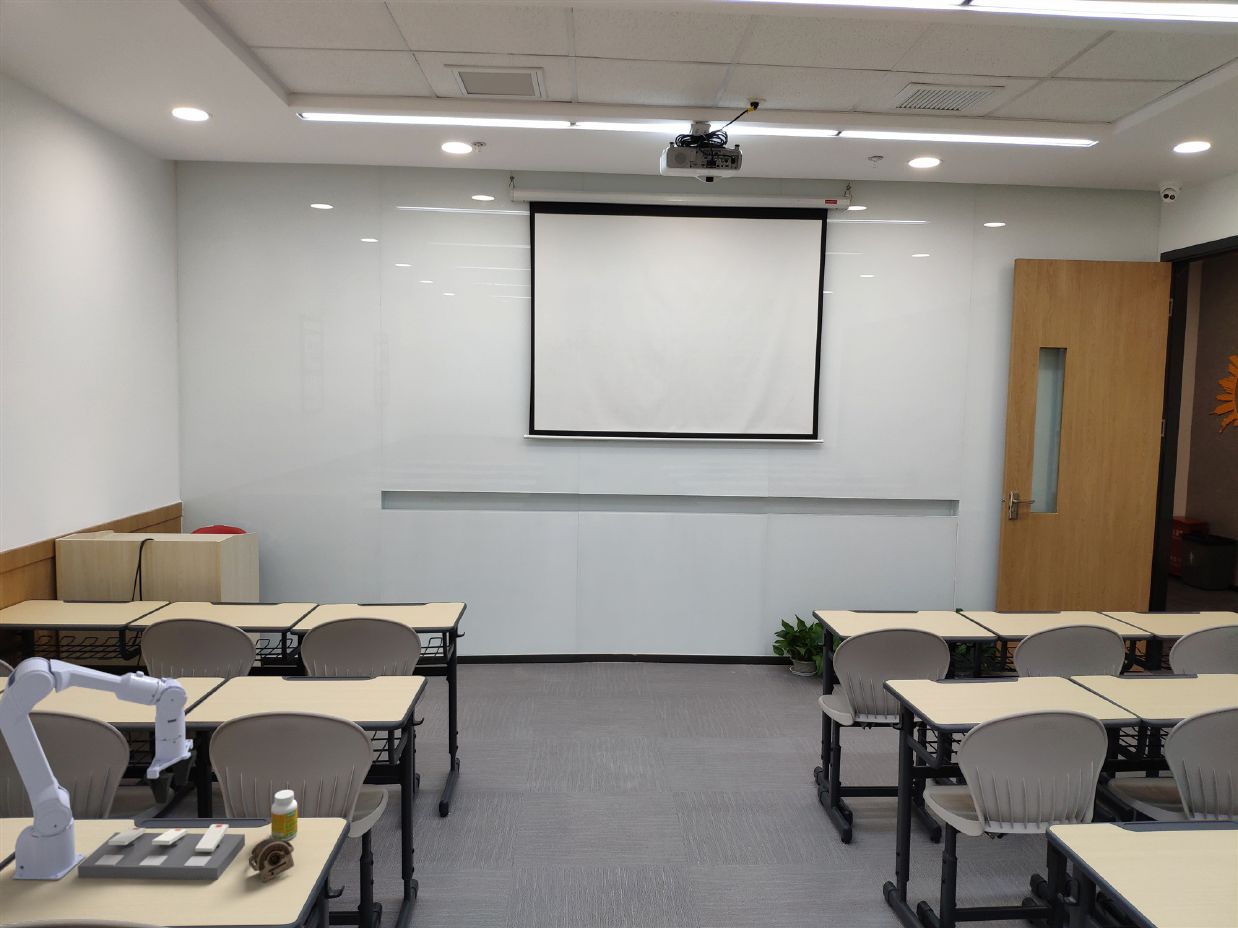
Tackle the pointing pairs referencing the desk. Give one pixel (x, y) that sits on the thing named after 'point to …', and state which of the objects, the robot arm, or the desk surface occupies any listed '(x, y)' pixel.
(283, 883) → the desk surface
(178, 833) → the rocker middle
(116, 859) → the rocker switch panel
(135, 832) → the rocker left
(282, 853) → the mechanical counter
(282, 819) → the supplement bottle
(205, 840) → the rocker right
